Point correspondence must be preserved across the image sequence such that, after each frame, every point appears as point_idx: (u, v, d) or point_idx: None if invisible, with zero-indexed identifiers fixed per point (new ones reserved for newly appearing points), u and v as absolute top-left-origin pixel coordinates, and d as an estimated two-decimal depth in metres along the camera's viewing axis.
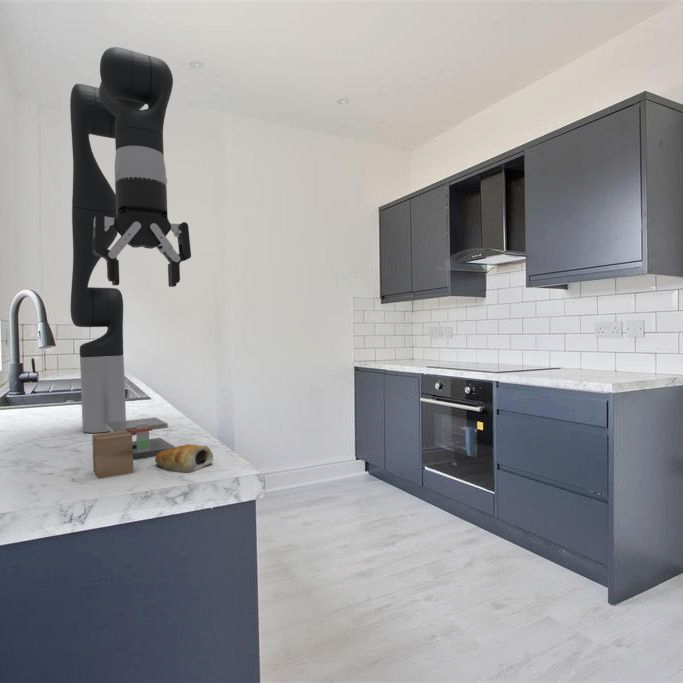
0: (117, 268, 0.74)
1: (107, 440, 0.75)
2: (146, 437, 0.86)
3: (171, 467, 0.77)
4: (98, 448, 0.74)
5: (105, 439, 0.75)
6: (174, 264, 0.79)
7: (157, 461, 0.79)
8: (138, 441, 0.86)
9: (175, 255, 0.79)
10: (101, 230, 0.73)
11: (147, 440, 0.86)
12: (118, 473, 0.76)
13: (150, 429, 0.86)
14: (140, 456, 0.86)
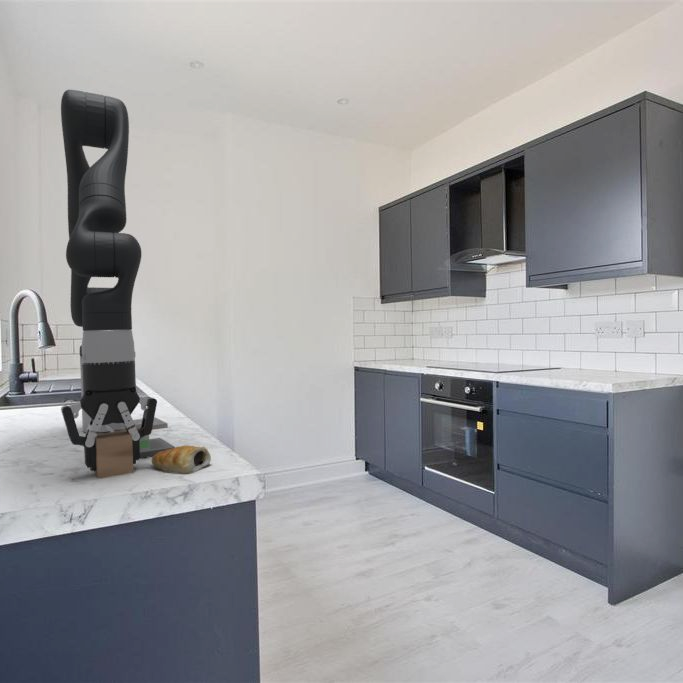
0: (94, 455, 0.75)
1: (107, 440, 0.75)
2: (146, 437, 0.86)
3: (168, 469, 0.76)
4: (98, 448, 0.74)
5: (105, 439, 0.75)
6: (133, 443, 0.78)
7: (154, 463, 0.78)
8: None
9: (134, 434, 0.78)
10: (72, 422, 0.73)
11: (147, 440, 0.86)
12: (118, 473, 0.76)
13: None
14: (140, 456, 0.86)
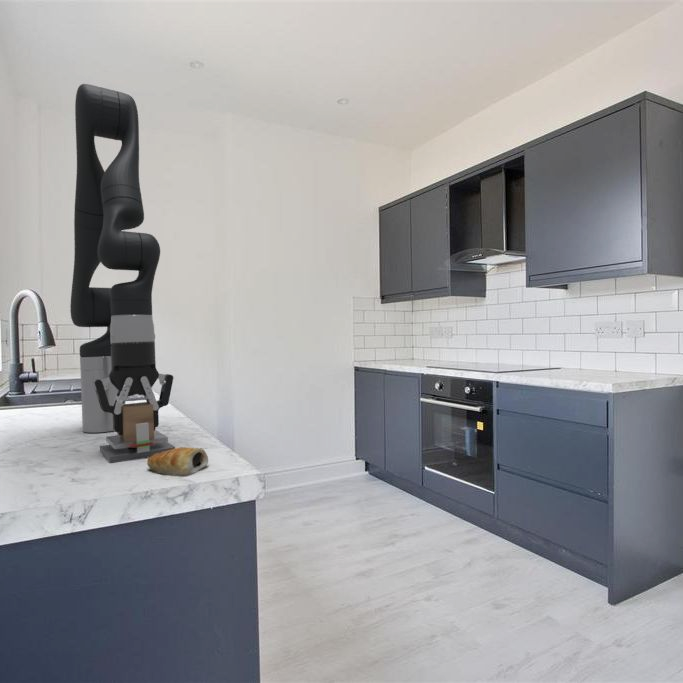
0: (121, 421, 0.88)
1: (132, 408, 0.88)
2: (146, 437, 0.86)
3: (166, 471, 0.75)
4: (125, 415, 0.87)
5: (130, 407, 0.88)
6: (153, 412, 0.91)
7: (150, 465, 0.77)
8: (138, 441, 0.86)
9: (154, 404, 0.91)
10: (103, 392, 0.86)
11: (147, 440, 0.86)
12: None
13: (151, 444, 0.86)
14: (140, 456, 0.86)
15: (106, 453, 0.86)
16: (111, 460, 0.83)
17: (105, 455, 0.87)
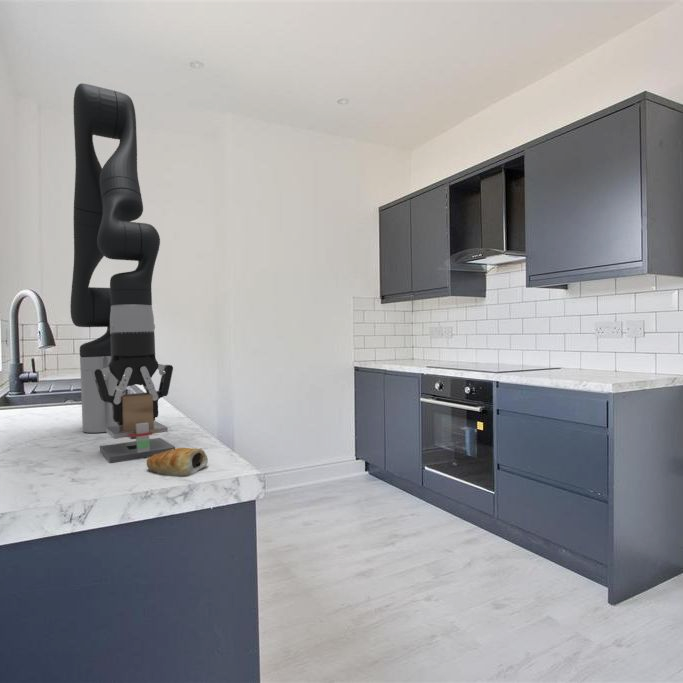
0: (121, 411, 0.88)
1: (131, 398, 0.88)
2: (146, 437, 0.86)
3: (166, 472, 0.75)
4: (124, 405, 0.87)
5: (130, 397, 0.88)
6: (153, 402, 0.91)
7: (149, 466, 0.77)
8: (138, 441, 0.86)
9: (154, 395, 0.91)
10: (102, 382, 0.86)
11: (147, 440, 0.86)
12: None
13: (150, 433, 0.86)
14: (140, 456, 0.86)
15: (106, 453, 0.86)
16: (111, 460, 0.83)
17: (105, 455, 0.87)
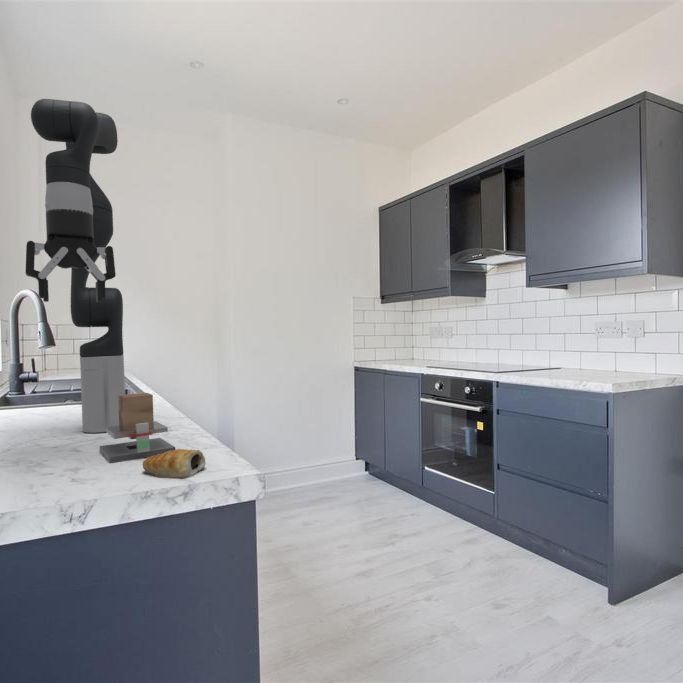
0: (46, 287, 0.86)
1: (131, 398, 0.88)
2: (146, 437, 0.86)
3: (164, 474, 0.74)
4: (124, 405, 0.87)
5: (130, 397, 0.88)
6: (100, 282, 0.91)
7: (146, 468, 0.75)
8: (138, 441, 0.86)
9: (100, 275, 0.91)
10: (32, 255, 0.85)
11: (147, 440, 0.86)
12: None
13: (150, 433, 0.86)
14: (140, 456, 0.86)
15: (106, 453, 0.86)
16: (111, 460, 0.83)
17: (105, 455, 0.87)
